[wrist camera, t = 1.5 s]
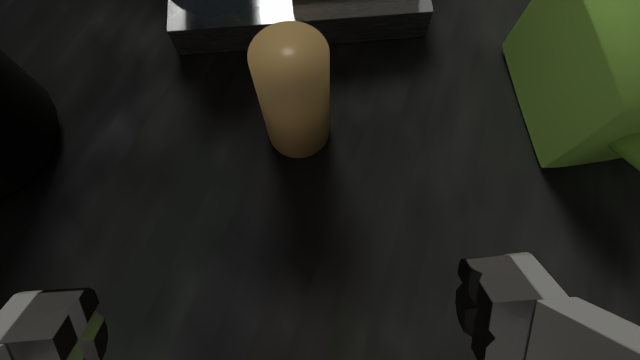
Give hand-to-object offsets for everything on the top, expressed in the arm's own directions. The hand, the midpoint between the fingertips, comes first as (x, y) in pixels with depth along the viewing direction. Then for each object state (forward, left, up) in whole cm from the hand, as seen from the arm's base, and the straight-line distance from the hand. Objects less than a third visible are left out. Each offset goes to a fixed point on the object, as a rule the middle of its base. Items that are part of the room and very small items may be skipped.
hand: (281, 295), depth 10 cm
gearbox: (-22, -14, -21) cm, 33 cm away
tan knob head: (0, -14, -20) cm, 25 cm away
